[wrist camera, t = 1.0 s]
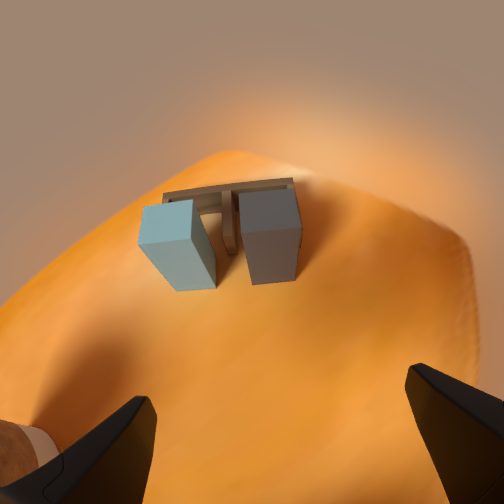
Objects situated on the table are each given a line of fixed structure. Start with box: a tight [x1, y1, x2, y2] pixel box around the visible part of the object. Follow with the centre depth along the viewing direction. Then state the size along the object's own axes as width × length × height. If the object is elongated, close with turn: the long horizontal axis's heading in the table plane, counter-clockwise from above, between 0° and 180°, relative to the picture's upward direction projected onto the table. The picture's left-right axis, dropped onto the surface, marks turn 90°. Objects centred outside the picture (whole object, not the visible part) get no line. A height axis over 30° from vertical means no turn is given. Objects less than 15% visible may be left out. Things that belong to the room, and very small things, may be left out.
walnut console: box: [162, 178, 303, 255], centre depth 26 cm, size 6×12×3 cm, turn 94°
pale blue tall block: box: [138, 199, 216, 291], centre depth 22 cm, size 3×4×8 cm
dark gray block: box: [239, 188, 301, 285], centre depth 21 cm, size 3×4×8 cm
